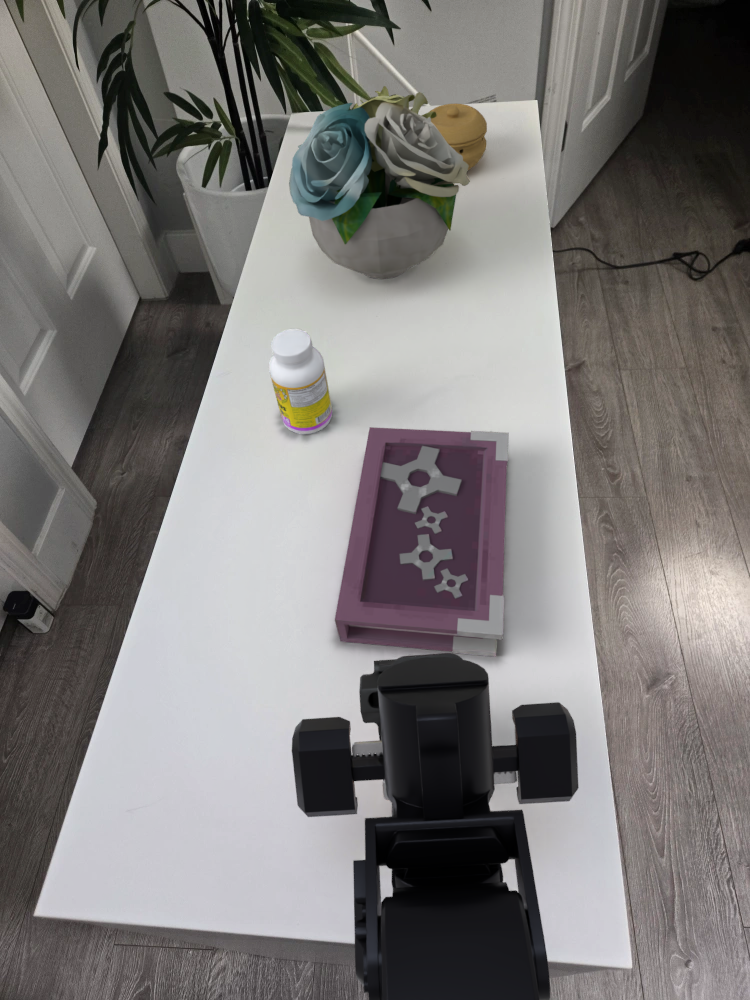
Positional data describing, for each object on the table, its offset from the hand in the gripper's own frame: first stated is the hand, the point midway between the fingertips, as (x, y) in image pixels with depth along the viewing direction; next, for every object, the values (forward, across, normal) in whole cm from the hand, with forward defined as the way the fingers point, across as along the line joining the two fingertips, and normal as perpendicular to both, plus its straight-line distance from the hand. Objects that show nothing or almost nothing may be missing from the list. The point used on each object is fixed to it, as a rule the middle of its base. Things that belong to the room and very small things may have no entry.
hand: (427, 706), depth 56 cm
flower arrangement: (+61, +1, -44) cm, 76 cm away
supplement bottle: (+39, +12, -22) cm, 47 cm away
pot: (+80, -13, -63) cm, 103 cm away
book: (+24, -2, -8) cm, 26 cm away
